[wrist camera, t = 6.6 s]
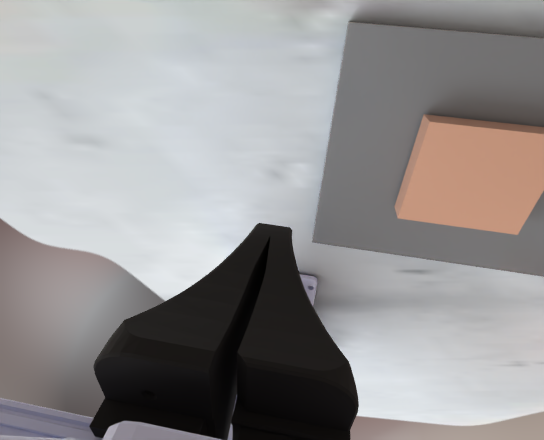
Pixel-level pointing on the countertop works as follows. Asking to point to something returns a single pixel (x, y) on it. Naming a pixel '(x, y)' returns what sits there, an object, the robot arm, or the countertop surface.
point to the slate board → (403, 131)
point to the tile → (473, 174)
